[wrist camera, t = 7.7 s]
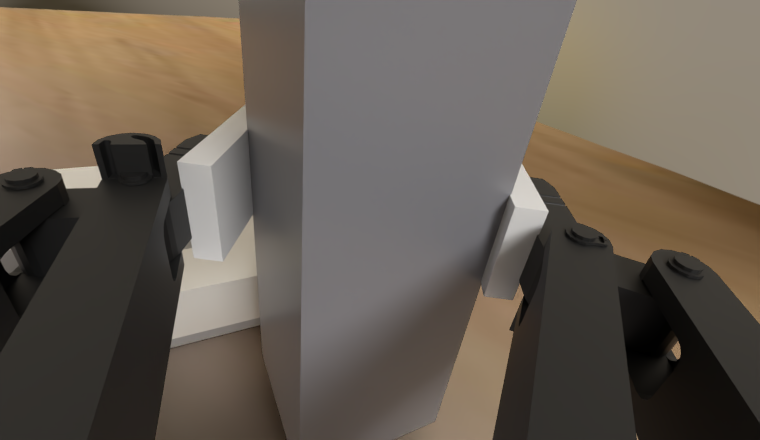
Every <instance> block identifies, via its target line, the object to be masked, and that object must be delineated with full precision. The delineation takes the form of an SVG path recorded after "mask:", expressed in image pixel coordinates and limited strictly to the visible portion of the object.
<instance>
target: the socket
mask: <svg viewBox="0 0 760 440" xmlns="http://www.w3.org/2000/svg"><path fill="white" fill-rule="evenodd" d="M52 170H55V171H57V172H59V173H61V175H62V178H63V181H64V184H65V187H66V189H70V188H97V187H98V185H99V183H100V181H101V180H102V178H101V175H100V171H99V168H98V166H92V167H78V168H65V169H52ZM182 254H183V260H184V271H183V277H182V283H181V288H180V294H179V300H178V306H177V312H176V318H175V323H174V329H173V335H172V341H171V347H170V348H173V347H177V346H181V345H185V344H189V343H193V342H196V341H200V340H204V339H208V338H212V337H216V336H220V335H224V334H228V333H232V332H235V331H239V330H243V329H247V328H251V327H255V326H259V325H260V312H259V297H258V282H257V267H256V253H255V238H254V223H253V215H252V217H251V218H250V220H249V221H248V223H247V225H246V226H245V228H244V229H243V231H242V233H241V234H240V236H239V237H238V239H237V240H236V242H235V244H234V245H233V247H232V248H231V250H230V251H229V253H228V255H227V256H226V258H225V259H224V261H223V262H221V261H213V260H206V259H198V258H194V256H193V251H192V245H191V240H190V241H189V243H188V244H187V245H186V246H185V248H184V249H183V250H182ZM0 261H1V263H2V265H3V267H4V269H5V271H6V272H7V273H8V274H9V273H11V272H12V271H14V270H15V269H16V268H17V267H18V266H19V265H18V263H17V261H16V259H15V257H14V255H13V252H12V250H11V249H9V250H8V251H7V252H6V253H5V254H4V256H3V257H2V258H1V259H0Z"/></svg>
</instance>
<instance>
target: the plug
mask: <svg viewBox="0 0 760 440" xmlns="http://www.w3.org/2000/svg"><path fill="white" fill-rule="evenodd" d="M576 1H577V0H239V15H240V29H241V44H242V59H243V74H244V89H245V104H246V119H247V129H248V141H249V157H250V172H251V187H252V202H253V223H254V238H255V253H256V267H257V282H258V297H259V312H260V327H261V342H262V355H263V359H264V362H265V366H266V369H267V373H268V376H269V380H270V383H271V386H272V390H273V393H274V397H275V400H276V404H277V407H278V410H279V414H280V417H281V421H282V424H283V428H284V431H285V435H286V438H287V440H394V439H396V438H399V437H401V436H403V435H405V434H408V433H410V432H412V431H414V430H417V429H419V428H421V427H423V426H426V425H428V424H430V423H432V422H435V420H436V417H437V414H438V411H439V408H440V405H441V402H442V399H443V396H444V393H445V390H446V387H447V384H448V381H449V378H450V375H451V372H452V369H453V366H454V363H455V360H456V357H457V355H458V352H459V349H460V346H461V343H462V340H463V337H464V334H465V331H466V328H467V325H468V322H469V319H470V316H471V313H472V310H473V307H474V304H475V301H476V298H477V295H478V292H479V289H480V286H481V280H482V277H483V274H484V271H485V268H486V265H487V262H488V259H489V256H490V253H491V250H492V247H493V244H494V241H495V238H496V235H497V232H498V229H499V226H500V223H501V220H502V217H503V214H504V211H505V208H506V205H507V202H508V199H509V196H510V195H511V194H512V191H513V188H514V185H515V182H516V179H517V176H518V173H519V170H520V167H521V164H522V161H523V158H524V155H525V152H526V149H527V146H528V143H529V141H530V138H531V135H532V132H533V129H534V126H535V123H536V120H537V117H538V114H539V111H540V108H541V105H542V102H543V99H544V96H545V93H546V90H547V87H548V84H549V81H550V78H551V75H552V72H553V69H554V66H555V63H556V60H557V57H558V54H559V51H560V48H561V45H562V42H563V39H564V36H565V34H566V31H567V28H568V24H569V22H570V19H571V15H572V13H573V10H574V7H575V4H576Z"/></svg>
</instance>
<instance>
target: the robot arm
mask: <svg viewBox="0 0 760 440" xmlns="http://www.w3.org/2000/svg"><path fill="white" fill-rule="evenodd" d="M92 147H93V151H94V154H95V158H96V161H97V164H98V168H99V171H100V175H101V178H102V180H101V181H100V183H99V185H98V187H97V188H70V189H66V187H65V184H64V181H63V178H62V175H61V173H59V172H57V171H55V170H52V169H46V168H33V167H28V168H24V169H22V168H19V169H14V170H12V171H11V172H7V173H3V174H0V259H1V258H2V257H3V256H4V254H5V253H6V252H7V251H8V250H9V249H11V250H12V252H13V255H14V257H15V259H16V261H17V263H18V265H19V266H18V267H17V268H16V269H15V270H14V271H12V272H11V273H9V274H8V273H7V272H6V271H5V269H4V267H3V265H2V263H1V261H0V440H155V434H156V429H157V423H158V417H159V411H160V405H161V399H162V394H163V388H164V382H165V376H166V370H167V364H168V358H169V353H170V347H171V341H172V335H173V329H174V323H175V318H176V312H177V306H178V300H179V294H180V288H181V283H182V277H183V271H184V260H183V254H182V250H183V249H184V248H185V246H186V245H187V244H188V243H189V241H190V240H191V245H192V251H193V256H194V258H198V259H206V260H213V261H221V262H223V261H224V259H225V258H226V256H227V255H228V253H229V251H230V250H231V248H232V247H233V245H234V244H235V242H236V240H237V239H238V237H239V236H240V234H241V233H242V231H243V229H244V228H245V226H246V225H247V223H248V221H249V220H250V218H251V217H252V215H253V202H252V187H251V172H250V157H249V141H248V129H247V119H246V104H245V105H244V106H243V107H242V108H240V109H239V110H238V111H237V112H236V113H234V114H233V115H232V116H231V117H230V118H228V119H227V120H226V121H225V122H224V123H222V124H221V125H220V126H219V127H218V128H217V129H215V130H214V131H213V132H212V133H211V134H209V135H203V134H200V135H197V136H194V137H191V138H189V139H186V140H185V141H183V142H182V143H181V144H179V145H178V146H177V148H174V149H173V150H172V151H170V152H169V154H166V155H165V156H163V151H162V145H161V140H160V139H158V138H157V137H155V136H152V135H148V134H141V133H124V134H116V135H111V136H107V137H104V138H101V139H99V140H97V141H96V142H94V143H93V144H92ZM519 283H520V285H521V288H522V291H523V294H524V296H523V299H522V301H521V303H520V306H519V308H518V311H517V313H516V315H515V318H514V320H513V322H512V325H511V327H510V329H509V330H511V331H514V333H513V338H512V343H511V348H510V353H509V358H508V364H507V369H506V374H505V379H504V384H503V389H502V394H501V399H500V405H499V410H498V415H497V420H496V425H495V430H494V435H493V440H637V438H636V434H637V436H638V439H639V440H760V324H759V323H758V322H757V321H756V319H755V318H754V317H753V316H752V315H751V314H750V312H749V311H748V310H747V309H746V308H745V306H744V305H743V304H742V303H741V302H740V301H739V299H738V298H737V297H736V296H735V295H734V293H733V292H732V291H731V290H730V289H729V288H728V286H727V285H726V284H725V283H724V282H723V281H722V279H721V278H720V277H719V276H718V275H717V274H716V273H715V272H714V271H713V270H712V269H711V268H710V267H709V266H707V265H705V264H704V263H702V262H700V260H699V259H697V258H695V257H693V256H691V257H690V255H688V254H686V253H683V252H681V253H680V252H676V251H672V250H663V249H660V250H656V251H654V252H653V253H652V255H651V256H650V258H649V260H648V261H647V263H646V264H644V263H641V262H638V261H634V260H631V259H628V258H625V257H621V256H618V255H616V254H614V253H613V246H612V244H611V242H610V240H609V239H607V238H606V237H605V236H604V235H603V234H602V233H600V232H598V231H597V230H595V229H593V228H591V227H588V226H586V225H583V224H579V223H577V222H576V220H575V219H574V217H573V216H572V214H571V213H570V211H569V209H568V208H567V206H565V203H564V202H563V200H562V199H560V196H559V194H558V192H557V191H556V189H555V188H554V187H553V186H551V185H550V184H549V183H547V182H546V181H545V180H543V179H539V178H532V177H529V175H528V174H527V172H526V170H525V168H524V166H523V165H522V164H521V167H520V170H519V173H518V176H517V179H516V182H515V185H514V188H513V191H512V194H511V195H510V196H509V199H508V202H507V205H506V208H505V211H504V214H503V217H502V220H501V223H500V226H499V229H498V232H497V235H496V238H495V241H494V244H493V247H492V250H491V253H490V256H489V259H488V262H487V265H486V268H485V271H484V274H483V277H482V280H481V285H482V290H483V294H484V296H486V297H493V298H501V299H508V300H513V298H514V296H515V293H516V291H517V288H518V286H519ZM677 341H679V344H680V348H681V356H680V358H679V359H678V360H677V359H676V357H675V356H674V354H673V352H672V350H671V349H672V348H673V347H674V345H675V344H676V343H677Z"/></svg>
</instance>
